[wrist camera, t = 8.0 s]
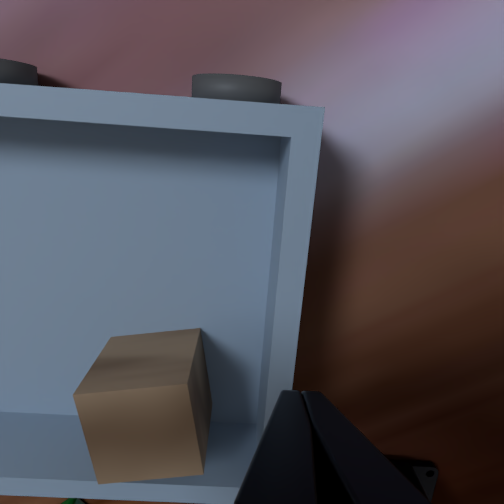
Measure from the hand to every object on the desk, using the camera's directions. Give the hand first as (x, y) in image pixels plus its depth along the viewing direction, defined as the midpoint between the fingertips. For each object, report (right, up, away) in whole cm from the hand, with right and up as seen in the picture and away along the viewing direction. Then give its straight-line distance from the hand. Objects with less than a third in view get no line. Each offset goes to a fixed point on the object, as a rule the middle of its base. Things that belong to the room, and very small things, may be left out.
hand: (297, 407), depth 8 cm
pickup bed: (-7, +2, +12) cm, 14 cm away
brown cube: (-6, -3, +12) cm, 13 cm away
